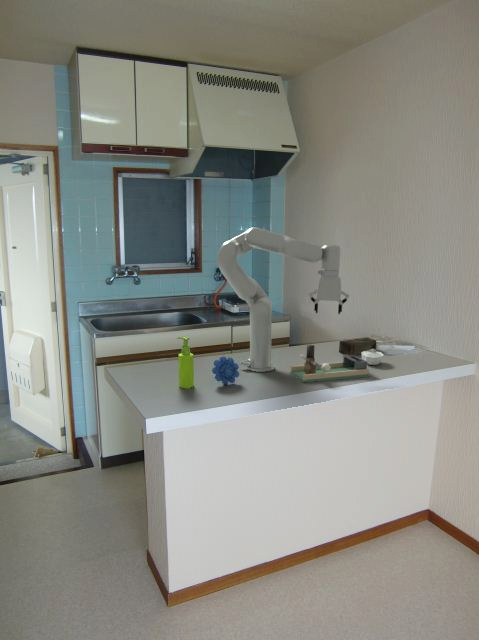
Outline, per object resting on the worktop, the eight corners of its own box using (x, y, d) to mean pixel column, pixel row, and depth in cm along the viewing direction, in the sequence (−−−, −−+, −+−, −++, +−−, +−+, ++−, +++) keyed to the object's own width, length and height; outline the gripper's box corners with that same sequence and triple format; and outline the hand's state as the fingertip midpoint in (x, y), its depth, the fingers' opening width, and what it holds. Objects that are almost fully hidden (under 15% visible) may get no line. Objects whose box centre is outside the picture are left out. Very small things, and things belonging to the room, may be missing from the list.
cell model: (359, 366, 232) (360, 352, 231) (362, 359, 244) (362, 346, 242) (382, 368, 229) (383, 354, 228) (384, 361, 240) (384, 347, 239)
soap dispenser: (184, 382, 209) (183, 334, 205) (196, 385, 205) (196, 337, 201) (174, 385, 205) (173, 337, 201) (186, 389, 200) (185, 339, 196)
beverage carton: (376, 351, 260) (377, 339, 259) (348, 356, 250) (349, 343, 249) (365, 348, 267) (366, 336, 265) (337, 353, 257) (338, 340, 256)
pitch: (303, 382, 208) (303, 375, 208) (290, 373, 222) (290, 366, 221) (368, 376, 217) (368, 369, 216) (352, 367, 230) (352, 360, 230)
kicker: (316, 380, 207) (317, 351, 205) (297, 367, 225) (298, 340, 223) (323, 379, 208) (324, 350, 206) (304, 366, 226) (304, 340, 224)
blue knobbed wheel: (215, 389, 200) (215, 360, 198) (210, 384, 206) (209, 355, 204) (243, 386, 204) (243, 357, 202) (237, 381, 211) (237, 353, 208)
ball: (323, 374, 216) (324, 365, 215) (319, 371, 220) (319, 362, 219) (332, 373, 217) (332, 364, 217) (328, 370, 221) (328, 362, 220)
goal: (355, 374, 217) (355, 360, 216) (342, 367, 227) (343, 354, 226) (366, 372, 218) (367, 359, 217) (353, 366, 229) (354, 353, 227)
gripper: (309, 274, 216) (307, 313, 219) (351, 275, 213) (348, 315, 217) (309, 272, 223) (307, 310, 226) (349, 273, 221) (347, 312, 224)
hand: (327, 313), depth 222 cm, fingers open, 9 cm apart
